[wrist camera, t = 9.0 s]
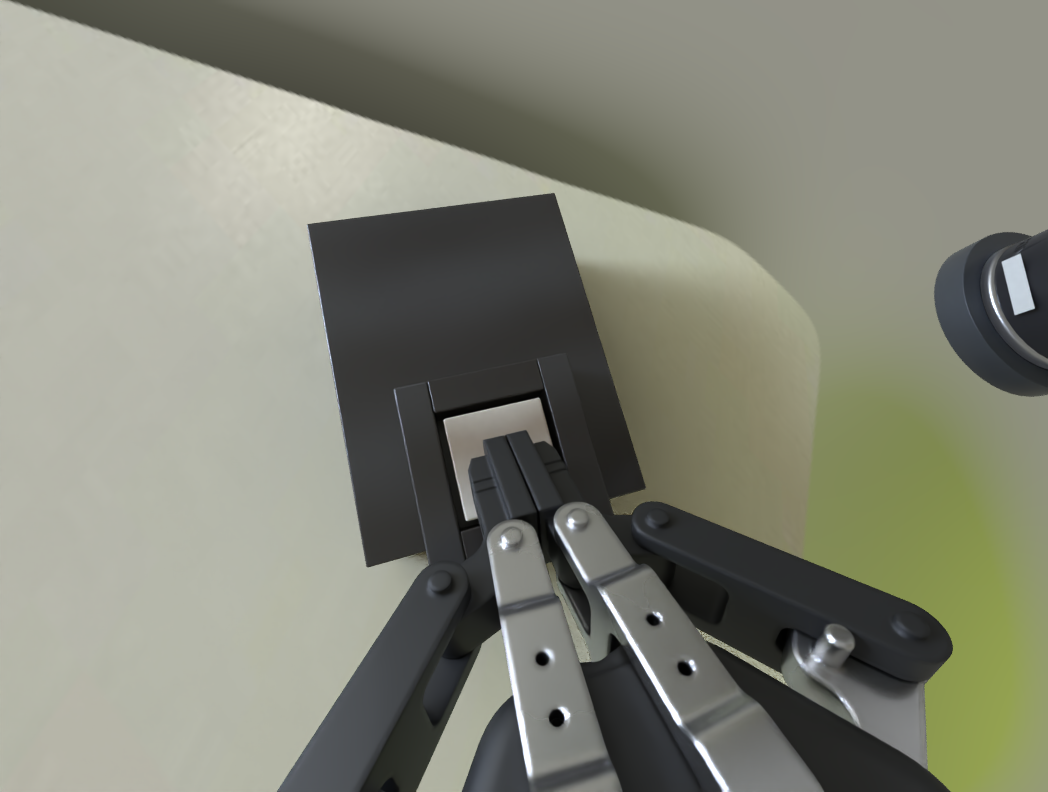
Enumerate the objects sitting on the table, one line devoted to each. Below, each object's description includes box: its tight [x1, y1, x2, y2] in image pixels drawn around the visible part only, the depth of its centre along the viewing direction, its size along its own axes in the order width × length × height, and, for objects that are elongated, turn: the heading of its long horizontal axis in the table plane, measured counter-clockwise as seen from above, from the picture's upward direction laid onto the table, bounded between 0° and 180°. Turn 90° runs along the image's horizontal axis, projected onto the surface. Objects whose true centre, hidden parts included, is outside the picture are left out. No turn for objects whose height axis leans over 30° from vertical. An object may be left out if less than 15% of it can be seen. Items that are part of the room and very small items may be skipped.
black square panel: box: [307, 193, 646, 567], centre depth 19 cm, size 15×11×7 cm
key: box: [443, 398, 553, 521], centre depth 16 cm, size 4×4×2 cm
